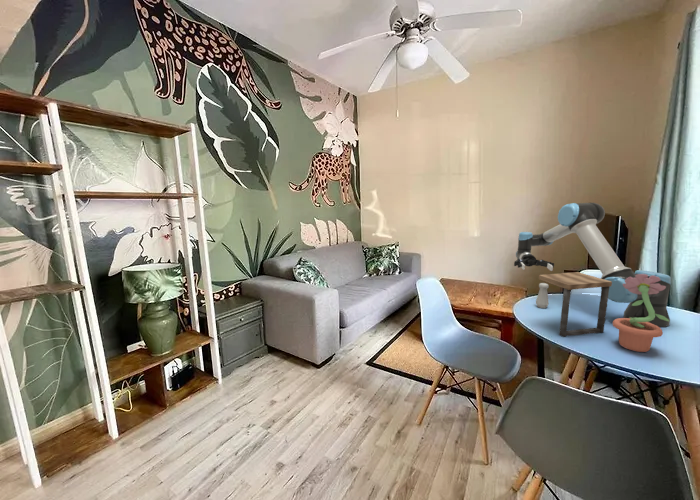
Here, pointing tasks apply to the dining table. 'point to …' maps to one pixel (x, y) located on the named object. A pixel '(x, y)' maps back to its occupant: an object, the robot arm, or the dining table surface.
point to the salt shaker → (542, 296)
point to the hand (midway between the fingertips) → (537, 267)
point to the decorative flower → (639, 330)
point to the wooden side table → (569, 283)
